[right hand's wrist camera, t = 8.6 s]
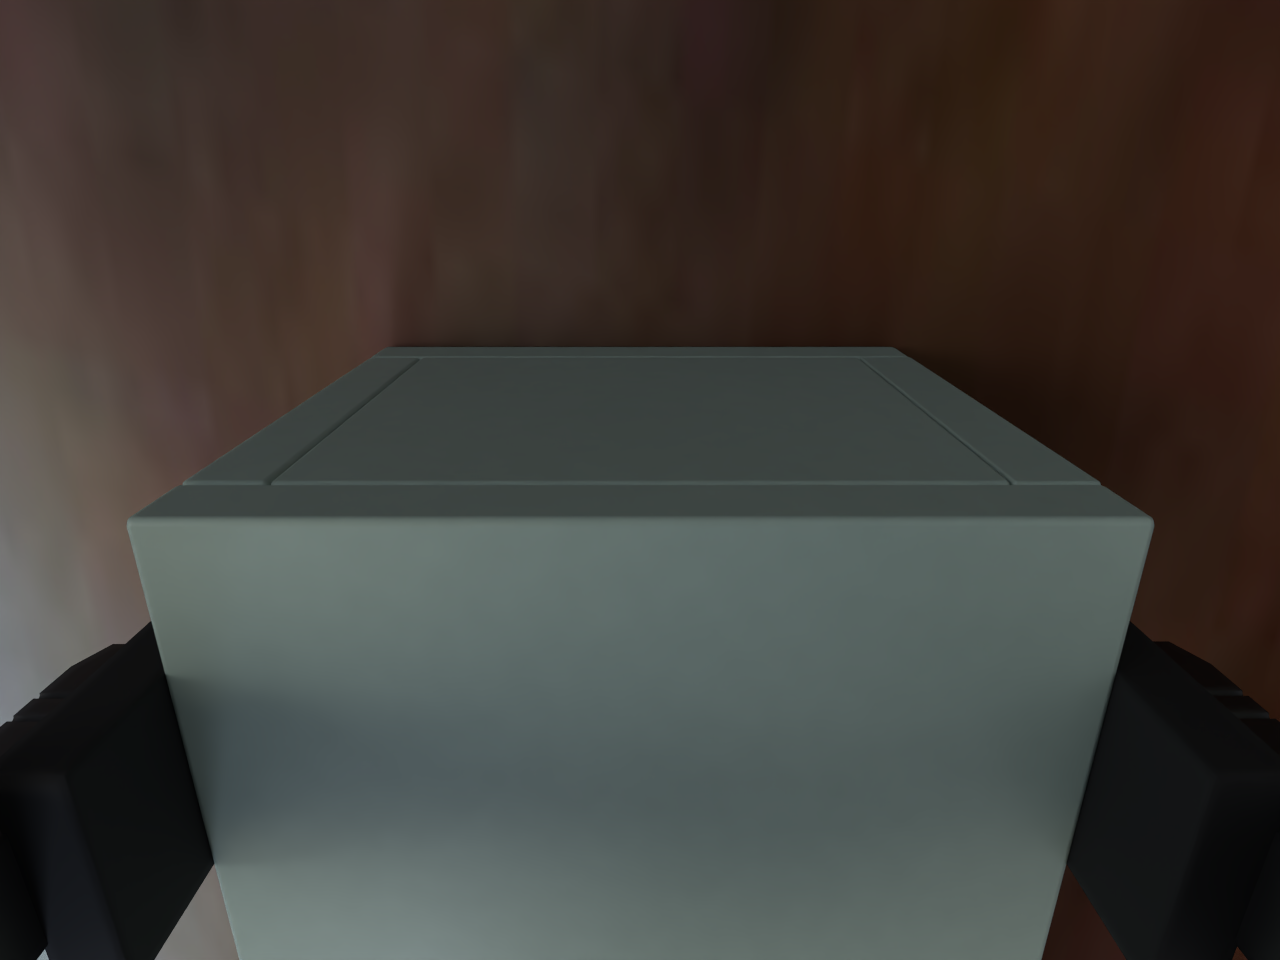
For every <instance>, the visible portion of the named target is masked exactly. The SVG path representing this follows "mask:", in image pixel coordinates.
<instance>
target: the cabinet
mask: <svg viewBox="0 0 1280 960" xmlns="http://www.w3.org/2000/svg"><path fill="white" fill-rule="evenodd" d="M127 529H128V533H129V537H130V541H131V545H132V548H133V552H134V556H135V560H136V564H137V568H138V571H139V575H140V579H141V583H142V587H143V591H144V595H145V598H146V602H147V606H148V610H149V614H150V618H151V621H152V625H153V629H154V633H155V637H156V641H157V644H158V648H159V652H160V656H161V660H162V664H163V668H164V671H165V675H166V679H167V683H168V687H169V691H170V694H171V698H172V702H173V706H174V710H175V714H176V718H177V721H178V725H179V729H180V733H181V737H182V741H183V744H184V748H185V752H186V756H187V760H188V764H189V768H190V771H191V775H192V779H193V783H194V787H195V791H196V794H197V798H198V802H199V806H200V810H201V814H202V817H203V821H204V825H205V829H206V833H207V837H208V841H209V844H210V848H211V852H212V856H213V860H214V864H215V867H216V871H217V875H218V879H219V883H220V887H221V891H222V894H223V898H224V902H225V906H226V910H227V914H228V917H229V921H230V925H231V929H232V933H233V937H234V941H235V944H236V948H237V952H238V956H239V960H1041V959H1042V955H1043V951H1044V947H1045V943H1046V939H1047V936H1048V932H1049V928H1050V924H1051V920H1052V916H1053V913H1054V909H1055V905H1056V901H1057V897H1058V893H1059V890H1060V886H1061V882H1062V878H1063V874H1064V870H1065V867H1066V863H1067V859H1068V855H1069V851H1070V847H1071V844H1072V840H1073V836H1074V832H1075V828H1076V824H1077V821H1078V817H1079V813H1080V809H1081V805H1082V801H1083V798H1084V794H1085V790H1086V786H1087V782H1088V778H1089V775H1090V771H1091V767H1092V763H1093V759H1094V755H1095V752H1096V748H1097V744H1098V740H1099V736H1100V732H1101V728H1102V725H1103V721H1104V717H1105V713H1106V709H1107V705H1108V702H1109V698H1110V694H1111V690H1112V686H1113V682H1114V679H1115V675H1116V671H1117V667H1118V663H1119V659H1120V656H1121V652H1122V648H1123V644H1124V640H1125V636H1126V633H1127V629H1128V625H1129V621H1130V617H1131V613H1132V610H1133V606H1134V602H1135V598H1136V594H1137V590H1138V587H1139V583H1140V579H1141V575H1142V571H1143V567H1144V564H1145V560H1146V556H1147V552H1148V548H1149V544H1150V541H1151V537H1152V533H1153V529H1154V521H1153V519H1152V517H1150V516H1149V515H1147V514H1146V513H1144V512H1143V511H1141V510H1140V509H1138V508H1136V507H1135V506H1133V505H1132V504H1130V503H1129V502H1127V501H1126V500H1124V499H1123V498H1121V497H1120V496H1118V495H1117V494H1115V493H1114V492H1112V491H1111V490H1109V489H1108V488H1106V487H1104V486H1102V485H1101V484H1100V482H1099V481H1098V480H1096V479H1095V478H1093V477H1092V476H1090V475H1089V474H1087V473H1086V472H1084V471H1082V470H1081V469H1079V468H1078V467H1076V466H1075V465H1073V464H1072V463H1070V462H1069V461H1067V460H1066V459H1064V458H1063V457H1061V456H1060V455H1058V454H1057V453H1055V452H1054V451H1052V450H1050V449H1049V448H1047V447H1046V446H1044V445H1043V444H1041V443H1040V442H1038V441H1037V440H1035V439H1034V438H1032V437H1031V436H1029V435H1028V434H1026V433H1025V432H1023V431H1022V430H1020V429H1019V428H1017V427H1015V426H1014V425H1012V424H1011V423H1009V422H1008V421H1006V420H1005V419H1003V418H1002V417H1000V416H999V415H997V414H996V413H994V412H993V411H991V410H990V409H988V408H987V407H985V406H983V405H982V404H980V403H979V402H977V401H976V400H974V399H973V398H971V397H970V396H968V395H967V394H965V393H964V392H962V391H961V390H959V389H958V388H956V387H955V386H953V385H951V384H950V383H948V382H947V381H945V380H944V379H942V378H941V377H939V376H938V375H936V374H935V373H933V372H932V371H930V370H929V369H927V368H926V367H924V366H923V365H921V364H920V363H918V362H916V361H915V360H913V359H912V358H910V357H908V356H906V355H905V354H903V353H902V352H900V351H898V350H897V349H895V348H893V347H387V348H385V349H383V350H382V351H380V352H379V353H377V354H376V355H374V356H373V357H372V358H370V359H368V360H367V361H365V362H364V363H362V364H361V365H359V366H358V367H356V368H355V369H353V370H352V371H350V372H349V373H347V374H346V375H344V376H343V377H341V378H340V379H338V380H337V381H335V382H334V383H332V384H330V385H329V386H327V387H326V388H324V389H323V390H321V391H320V392H318V393H317V394H315V395H314V396H312V397H311V398H309V399H308V400H306V401H305V402H303V403H302V404H300V405H299V406H297V407H296V408H294V409H293V410H291V411H290V412H288V413H287V414H285V415H284V416H282V417H281V418H279V419H278V420H276V421H275V422H273V423H272V424H270V425H269V426H267V427H266V428H264V429H263V430H261V431H260V432H258V433H257V434H255V435H254V436H252V437H251V438H249V439H247V440H246V441H244V442H243V443H241V444H240V445H238V446H237V447H235V448H234V449H232V450H231V451H229V452H228V453H226V454H225V455H223V456H222V457H220V458H219V459H217V460H216V461H214V462H213V463H211V464H210V465H208V466H207V467H205V468H204V469H202V470H201V471H199V472H198V473H196V474H195V475H193V476H192V477H190V478H189V479H187V480H186V481H184V482H183V485H180V486H177V487H175V488H173V489H172V490H170V491H169V492H167V493H166V494H164V495H163V496H161V497H160V498H158V499H157V500H155V501H154V502H152V503H151V504H149V505H148V506H146V507H145V508H143V509H142V510H140V511H139V512H137V513H136V514H134V515H133V516H131V517H130V518H129V519H128V521H127Z"/></svg>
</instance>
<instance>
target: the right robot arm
mask: <svg viewBox="0 0 1280 960" xmlns="http://www.w3.org/2000/svg"><path fill="white" fill-rule="evenodd" d="M213 865H214V860H213V856H212V852H211V848H210V844H209V841H208V837H207V833H206V829H205V825H204V821H203V817H202V814H201V810H200V806H199V802H198V798H197V794H196V791H195V787H194V783H193V779H192V775H191V771H190V768H189V764H188V760H187V756H186V752H185V748H184V744H183V741H182V737H181V733H180V729H179V725H178V721H177V718H176V714H175V710H174V706H173V702H172V698H171V694H170V691H169V687H168V683H167V679H166V675H165V671H164V668H163V664H162V660H161V656H160V652H159V648H158V644H157V641H156V637H155V633H154V629H153V625H152V621H151V622H149V623H148V624H147V625H146V626H145V627H144V628H143V629H142V630H141V631H139V632H138V633H137V634H136V635H135V636H134V637H133V638H132V639H131V640H129V641H128V642H127V643H126V644H112V645H110V646H109V647H107V648H105V649H103V650H101V651H99V652H97V653H96V654H94V655H92V656H90V657H88V658H86V659H84V660H83V661H81V662H79V663H77V664H75V665H73V666H71V667H70V668H69V669H68V670H67V671H65V672H64V673H63V674H62V675H61V676H60V677H58V678H57V679H56V680H55V681H54V682H52V683H51V684H50V685H49V686H48V687H47V688H45V689H44V690H43V691H42V692H41V693H40V697H39V699H33V700H31V701H30V702H29V703H28V704H27V705H26V706H24V707H23V708H22V709H21V710H20V711H19V712H17V713H16V714H15V715H14V719H13V721H12V722H6V723H4V724H3V725H2V726H1V727H0V960H37V958H38V957H39V956H40V955H41V953H42V952H43V951H44V949H45V950H46V952H47V955H48V958H49V960H154V959H155V958H156V956H157V955H158V953H159V951H160V950H161V948H162V946H163V945H164V943H165V942H166V940H167V938H168V937H169V935H170V934H171V932H172V930H173V929H174V927H175V926H176V924H177V922H178V921H179V919H180V918H181V916H182V914H183V913H184V911H185V910H186V908H187V906H188V905H189V903H190V902H191V900H192V898H193V897H194V895H195V894H196V892H197V890H198V889H199V887H200V886H201V884H202V882H203V881H204V879H205V878H206V876H207V874H208V873H209V871H210V870H211V868H212V866H213ZM1067 865H1068V867H1069V868H1070V870H1071V871H1072V873H1073V875H1074V876H1075V878H1076V879H1077V881H1078V883H1079V884H1080V886H1081V887H1082V889H1083V891H1084V892H1085V894H1086V895H1087V897H1088V899H1089V900H1090V902H1091V903H1092V905H1093V907H1094V908H1095V910H1096V911H1097V913H1098V915H1099V916H1100V918H1101V919H1102V921H1103V923H1104V924H1105V926H1106V928H1107V929H1108V931H1109V932H1110V934H1111V936H1112V937H1113V939H1114V940H1115V942H1116V944H1117V945H1118V947H1119V948H1120V950H1121V952H1122V953H1123V955H1124V956H1125V958H1126V960H1232V958H1233V955H1234V953H1235V950H1236V948H1237V946H1238V948H1239V949H1240V950H1241V952H1242V953H1243V954H1244V955H1245V957H1246V958H1247V959H1248V960H1280V722H1279V721H1277V720H1276V719H1270V718H1269V713H1268V712H1267V711H1266V710H1265V709H1263V708H1262V707H1261V706H1260V705H1259V704H1257V703H1256V702H1255V701H1254V700H1253V699H1252V698H1250V697H1249V696H1243V694H1242V690H1241V689H1240V688H1239V687H1237V686H1236V685H1235V684H1234V683H1233V682H1231V681H1230V680H1229V679H1228V678H1227V677H1226V676H1224V675H1223V674H1222V673H1221V672H1220V671H1218V670H1217V669H1216V668H1215V667H1214V666H1213V665H1211V664H1210V663H1208V662H1206V661H1204V660H1202V659H1200V658H1199V657H1197V656H1195V655H1193V654H1191V653H1189V652H1187V651H1185V650H1184V649H1182V648H1180V647H1178V646H1176V645H1174V644H1172V643H1170V642H1153V641H1151V640H1150V639H1149V638H1148V637H1147V636H1146V635H1145V634H1144V633H1143V632H1141V631H1140V630H1139V629H1138V628H1137V627H1136V626H1135V625H1134V624H1133V623H1131V622H1130V621H1129V625H1128V629H1127V633H1126V636H1125V640H1124V644H1123V648H1122V652H1121V656H1120V659H1119V663H1118V667H1117V671H1116V675H1115V679H1114V682H1113V686H1112V690H1111V694H1110V698H1109V702H1108V705H1107V709H1106V713H1105V717H1104V721H1103V725H1102V728H1101V732H1100V736H1099V740H1098V744H1097V748H1096V752H1095V755H1094V759H1093V763H1092V767H1091V771H1090V775H1089V778H1088V782H1087V786H1086V790H1085V794H1084V798H1083V801H1082V805H1081V809H1080V813H1079V817H1078V821H1077V824H1076V828H1075V832H1074V836H1073V840H1072V844H1071V847H1070V851H1069V855H1068V859H1067Z"/></svg>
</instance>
